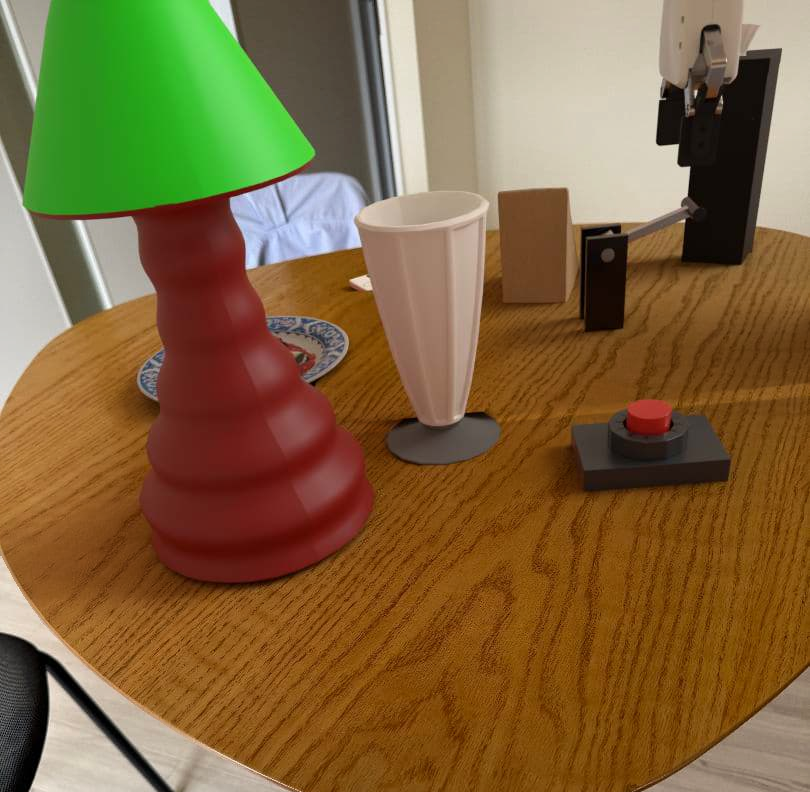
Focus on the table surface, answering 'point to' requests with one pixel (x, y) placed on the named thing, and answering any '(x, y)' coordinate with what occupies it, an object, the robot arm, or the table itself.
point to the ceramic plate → (303, 336)
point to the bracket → (602, 277)
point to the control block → (648, 454)
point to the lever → (667, 219)
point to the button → (648, 417)
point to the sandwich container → (536, 245)
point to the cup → (431, 316)
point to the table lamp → (197, 279)
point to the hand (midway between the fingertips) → (683, 154)
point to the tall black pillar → (735, 162)
